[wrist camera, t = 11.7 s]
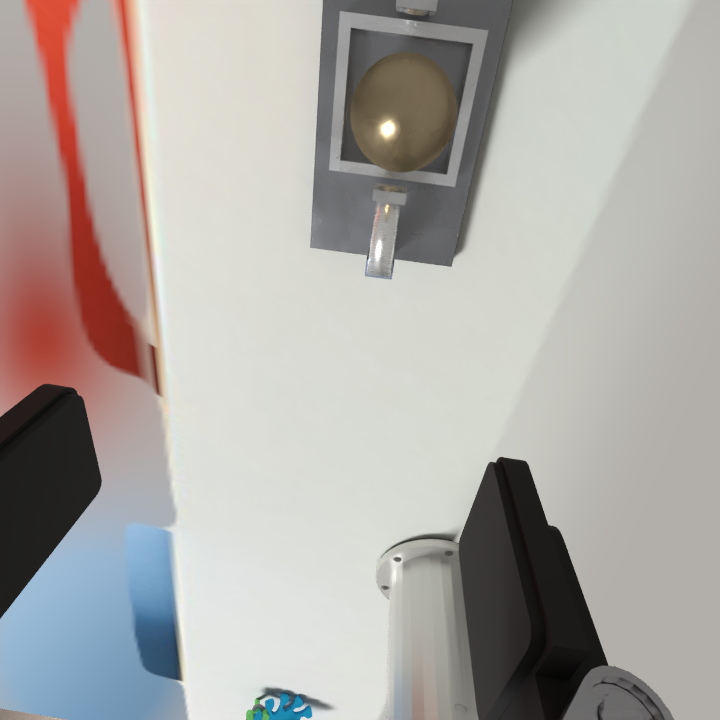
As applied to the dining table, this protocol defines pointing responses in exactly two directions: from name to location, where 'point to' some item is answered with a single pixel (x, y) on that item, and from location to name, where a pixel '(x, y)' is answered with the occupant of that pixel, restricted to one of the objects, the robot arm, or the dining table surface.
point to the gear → (278, 710)
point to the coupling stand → (386, 188)
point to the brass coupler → (403, 112)
